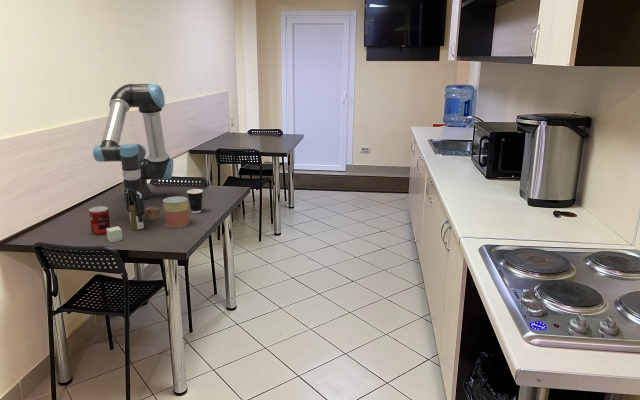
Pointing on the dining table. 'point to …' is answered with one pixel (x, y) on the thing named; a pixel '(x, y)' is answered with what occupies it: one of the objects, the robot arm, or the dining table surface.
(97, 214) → the canned food
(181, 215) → the canned food
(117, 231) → the sage cube
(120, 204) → the dining table surface
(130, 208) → the cork
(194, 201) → the dixie cup
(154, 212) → the walnut cube
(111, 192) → the dining table surface
